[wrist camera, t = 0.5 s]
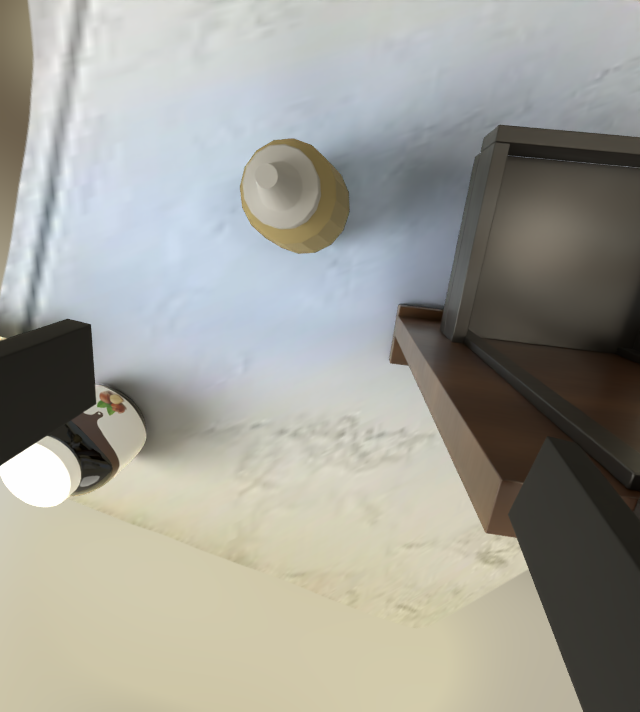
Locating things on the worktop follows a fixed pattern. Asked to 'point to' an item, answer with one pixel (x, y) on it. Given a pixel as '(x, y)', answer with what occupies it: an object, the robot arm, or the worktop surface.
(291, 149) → the squeeze bottle
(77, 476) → the spread jar
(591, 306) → the door rack
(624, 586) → the robot arm
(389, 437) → the worktop surface
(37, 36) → the worktop surface
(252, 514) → the worktop surface
